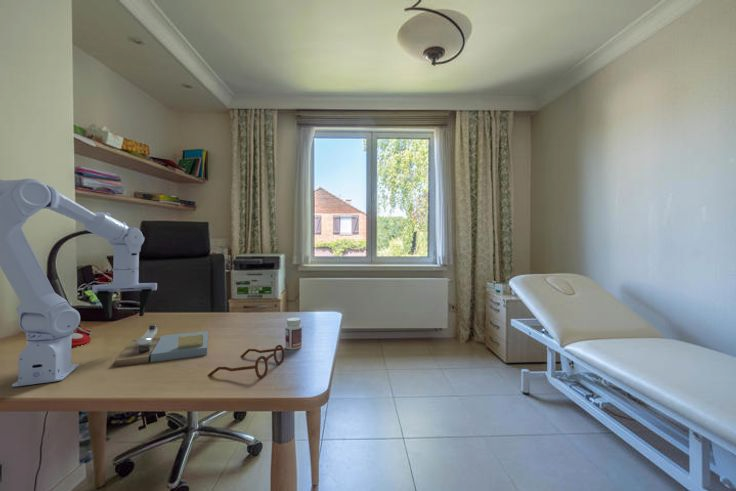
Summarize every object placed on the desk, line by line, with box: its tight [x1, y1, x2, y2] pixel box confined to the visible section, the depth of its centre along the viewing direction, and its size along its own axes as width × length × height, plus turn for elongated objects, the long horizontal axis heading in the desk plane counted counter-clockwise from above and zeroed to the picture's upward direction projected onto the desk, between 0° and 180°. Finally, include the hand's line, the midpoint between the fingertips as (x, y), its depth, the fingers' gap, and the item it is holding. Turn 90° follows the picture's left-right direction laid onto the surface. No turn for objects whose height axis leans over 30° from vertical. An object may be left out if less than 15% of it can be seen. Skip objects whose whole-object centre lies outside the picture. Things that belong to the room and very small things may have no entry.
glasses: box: [207, 344, 285, 379], centre depth 77 cm, size 13×13×5 cm
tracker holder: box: [71, 326, 93, 349], centre depth 94 cm, size 12×4×10 cm
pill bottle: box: [284, 317, 303, 351], centre depth 92 cm, size 5×5×8 cm
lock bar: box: [136, 324, 158, 347], centre depth 88 cm, size 15×3×2 cm, turn 26°
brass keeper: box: [178, 334, 203, 348], centre depth 87 cm, size 4×6×3 cm
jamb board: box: [114, 336, 161, 368], centre depth 86 cm, size 18×7×3 cm, turn 26°
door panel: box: [150, 330, 210, 363], centre depth 90 cm, size 18×13×2 cm
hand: (125, 316), depth 89 cm, fingers open, 7 cm apart
